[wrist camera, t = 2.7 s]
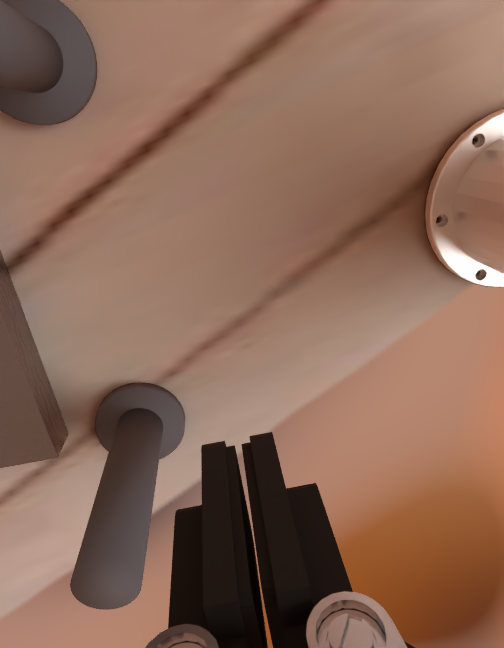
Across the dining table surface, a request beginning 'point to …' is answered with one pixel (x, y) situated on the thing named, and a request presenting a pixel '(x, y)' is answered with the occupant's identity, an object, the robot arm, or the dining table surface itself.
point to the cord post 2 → (125, 492)
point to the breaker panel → (24, 389)
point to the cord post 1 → (44, 61)
